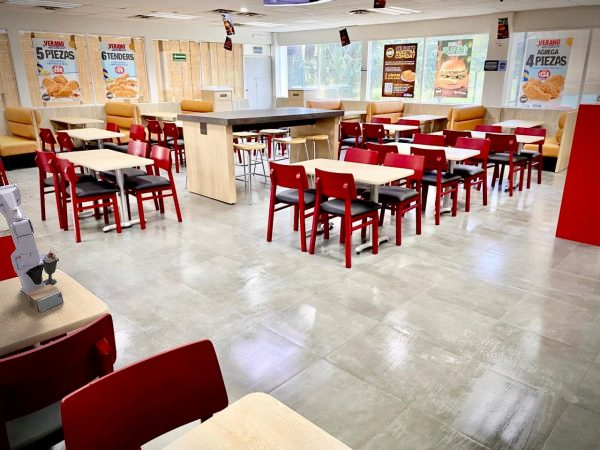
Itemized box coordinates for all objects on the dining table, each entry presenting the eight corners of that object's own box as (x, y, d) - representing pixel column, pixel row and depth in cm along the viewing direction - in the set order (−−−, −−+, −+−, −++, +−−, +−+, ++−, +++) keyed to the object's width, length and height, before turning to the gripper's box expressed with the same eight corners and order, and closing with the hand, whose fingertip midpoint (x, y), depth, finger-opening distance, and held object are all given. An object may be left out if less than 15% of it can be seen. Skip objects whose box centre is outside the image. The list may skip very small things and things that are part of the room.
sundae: (48, 286, 188) (48, 253, 184) (37, 281, 190) (37, 248, 186) (62, 281, 194) (62, 249, 190) (51, 277, 196) (51, 244, 192)
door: (39, 311, 171) (36, 300, 169) (62, 301, 177) (59, 290, 175) (41, 312, 170) (38, 302, 168) (64, 302, 176) (61, 292, 174)
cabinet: (29, 304, 176) (25, 293, 174) (52, 294, 183) (49, 283, 181) (39, 312, 171) (35, 300, 169) (62, 301, 177) (59, 290, 175)
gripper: (25, 260, 160) (35, 293, 165) (51, 243, 173) (59, 274, 178) (7, 260, 161) (17, 293, 166) (34, 243, 174) (43, 274, 179)
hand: (38, 283), depth 172 cm, fingers closed
